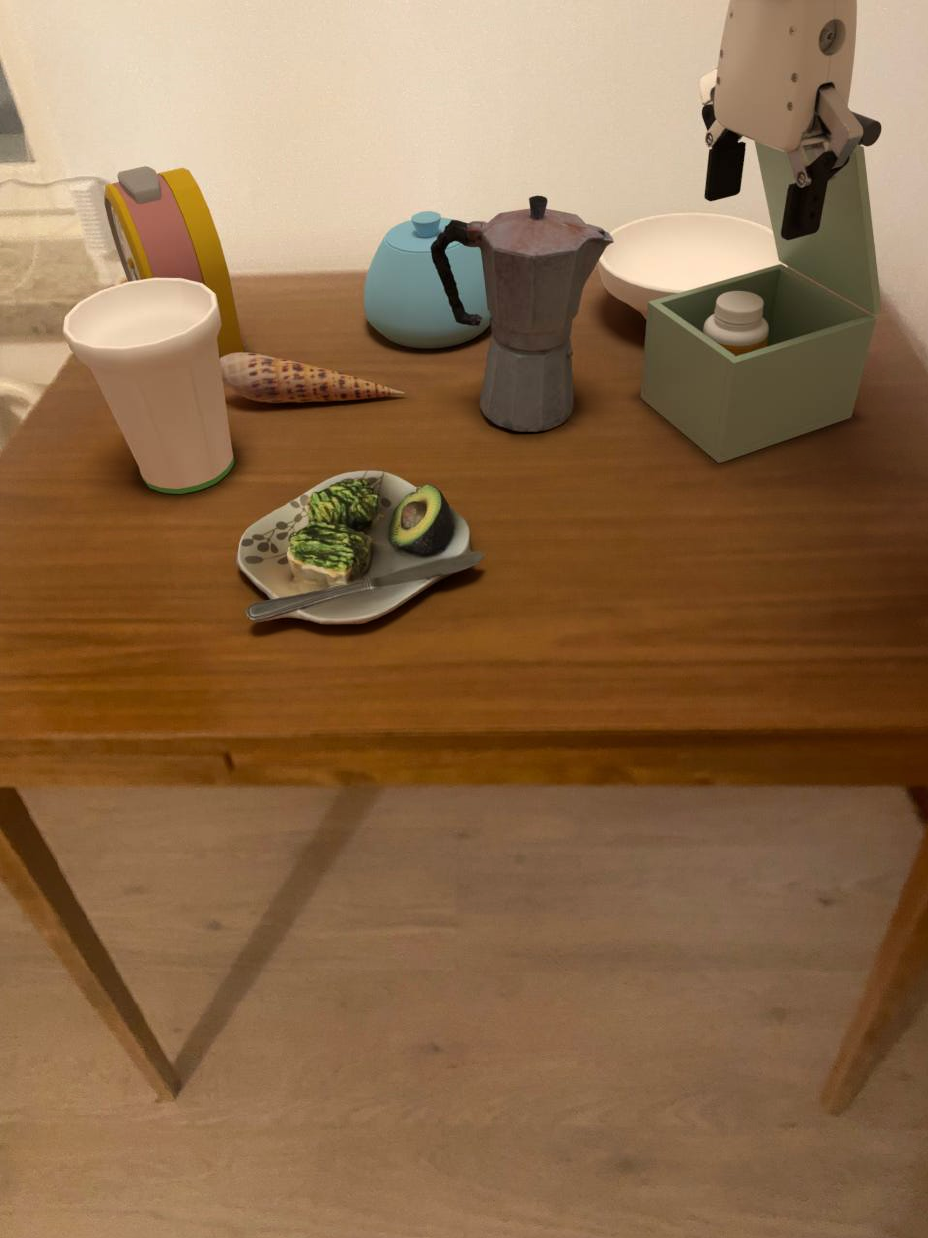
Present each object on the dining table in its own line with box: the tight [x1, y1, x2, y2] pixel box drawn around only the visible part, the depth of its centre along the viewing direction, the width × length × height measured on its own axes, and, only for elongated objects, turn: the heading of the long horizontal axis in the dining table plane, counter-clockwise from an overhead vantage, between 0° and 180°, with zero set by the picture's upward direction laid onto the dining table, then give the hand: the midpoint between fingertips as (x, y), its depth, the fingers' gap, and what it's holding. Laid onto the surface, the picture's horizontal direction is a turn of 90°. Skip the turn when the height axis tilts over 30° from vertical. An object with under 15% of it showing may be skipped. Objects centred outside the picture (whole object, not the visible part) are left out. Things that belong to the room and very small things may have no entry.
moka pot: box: [430, 195, 614, 433], centre depth 86 cm, size 10×15×20 cm, turn 89°
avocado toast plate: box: [235, 469, 486, 625], centre depth 76 cm, size 19×18×5 cm
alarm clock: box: [103, 165, 245, 358], centre depth 99 cm, size 15×8×18 cm, turn 27°
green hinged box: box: [639, 264, 877, 464], centre depth 87 cm, size 15×13×10 cm
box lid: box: [754, 110, 883, 316], centre depth 80 cm, size 15×13×5 cm
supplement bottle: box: [703, 291, 769, 356], centre depth 86 cm, size 6×6×10 cm
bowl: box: [597, 212, 790, 321], centre depth 102 cm, size 20×20×7 cm
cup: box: [62, 278, 235, 495], centre depth 83 cm, size 12×12×15 cm
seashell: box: [220, 351, 407, 404], centre depth 94 cm, size 4×18×5 cm, turn 85°
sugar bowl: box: [363, 210, 491, 350], centre depth 103 cm, size 15×15×12 cm
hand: (758, 215), depth 77 cm, fingers open, 9 cm apart
